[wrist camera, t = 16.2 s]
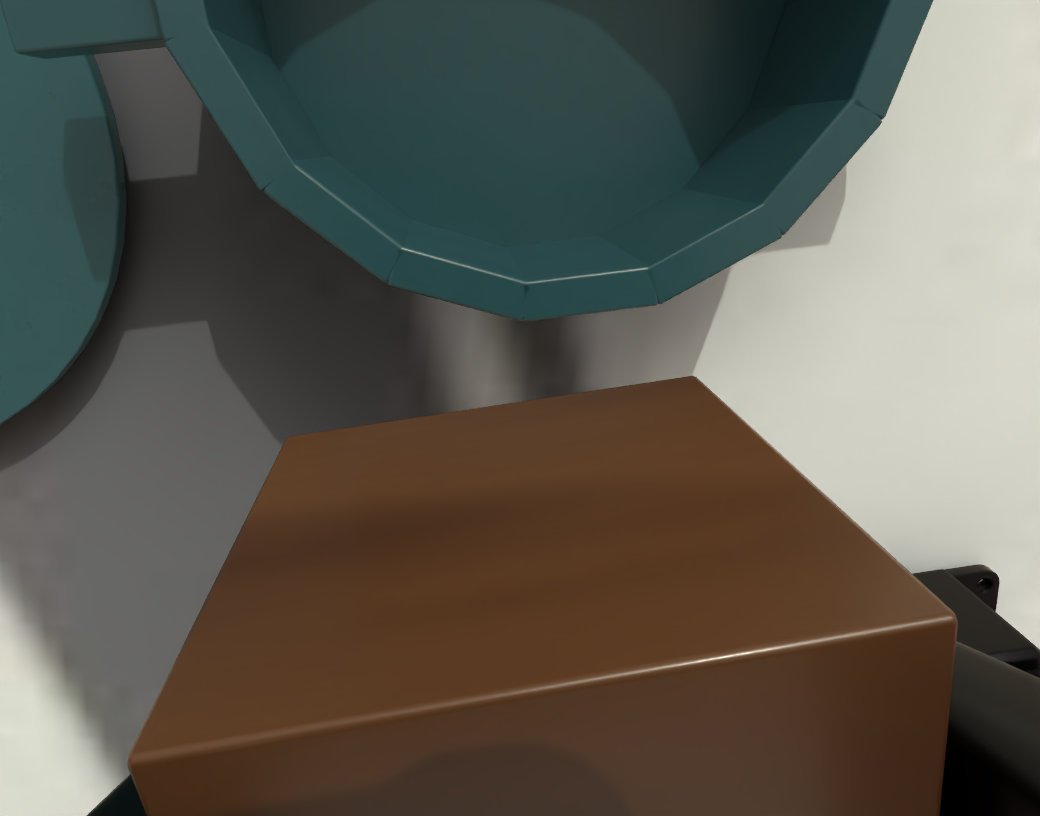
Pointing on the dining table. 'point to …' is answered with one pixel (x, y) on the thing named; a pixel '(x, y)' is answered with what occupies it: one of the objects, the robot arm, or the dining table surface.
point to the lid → (54, 216)
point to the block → (553, 630)
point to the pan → (524, 127)
